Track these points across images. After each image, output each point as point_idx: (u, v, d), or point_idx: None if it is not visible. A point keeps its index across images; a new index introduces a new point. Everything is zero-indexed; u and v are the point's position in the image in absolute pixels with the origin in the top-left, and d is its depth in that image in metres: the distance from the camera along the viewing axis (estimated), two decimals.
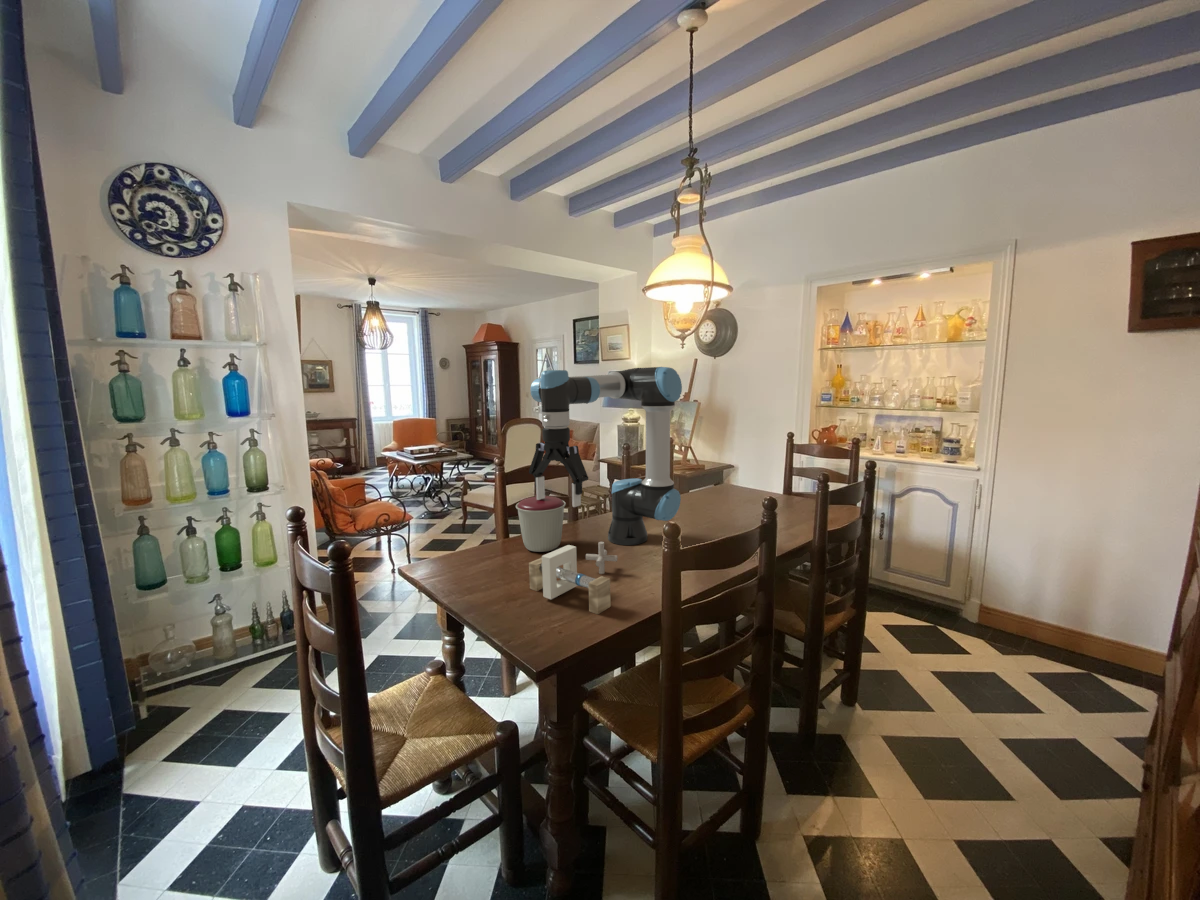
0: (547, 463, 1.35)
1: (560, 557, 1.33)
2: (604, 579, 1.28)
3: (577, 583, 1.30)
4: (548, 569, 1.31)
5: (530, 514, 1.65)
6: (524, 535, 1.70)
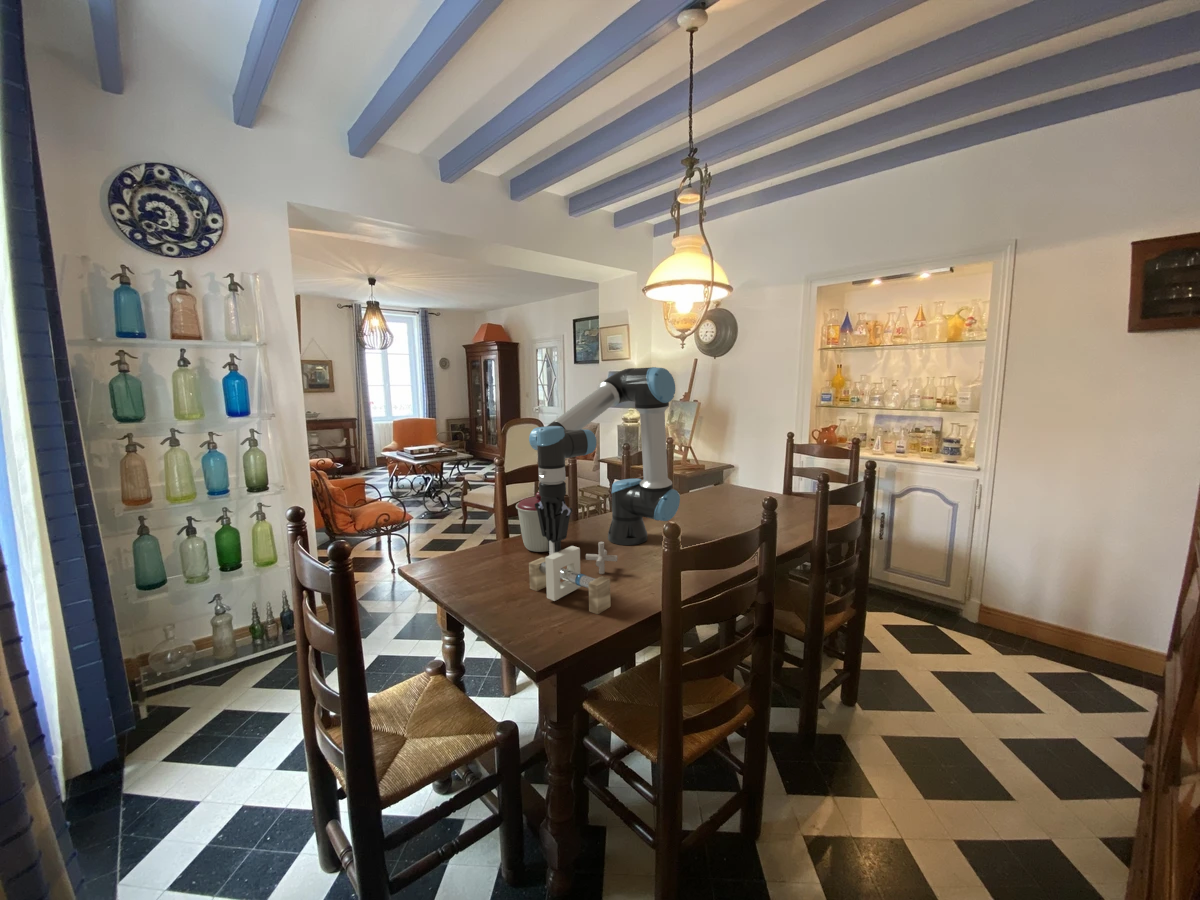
0: None
1: (563, 558, 1.33)
2: (604, 579, 1.28)
3: (577, 583, 1.30)
4: (552, 570, 1.30)
5: (530, 514, 1.65)
6: (524, 535, 1.70)
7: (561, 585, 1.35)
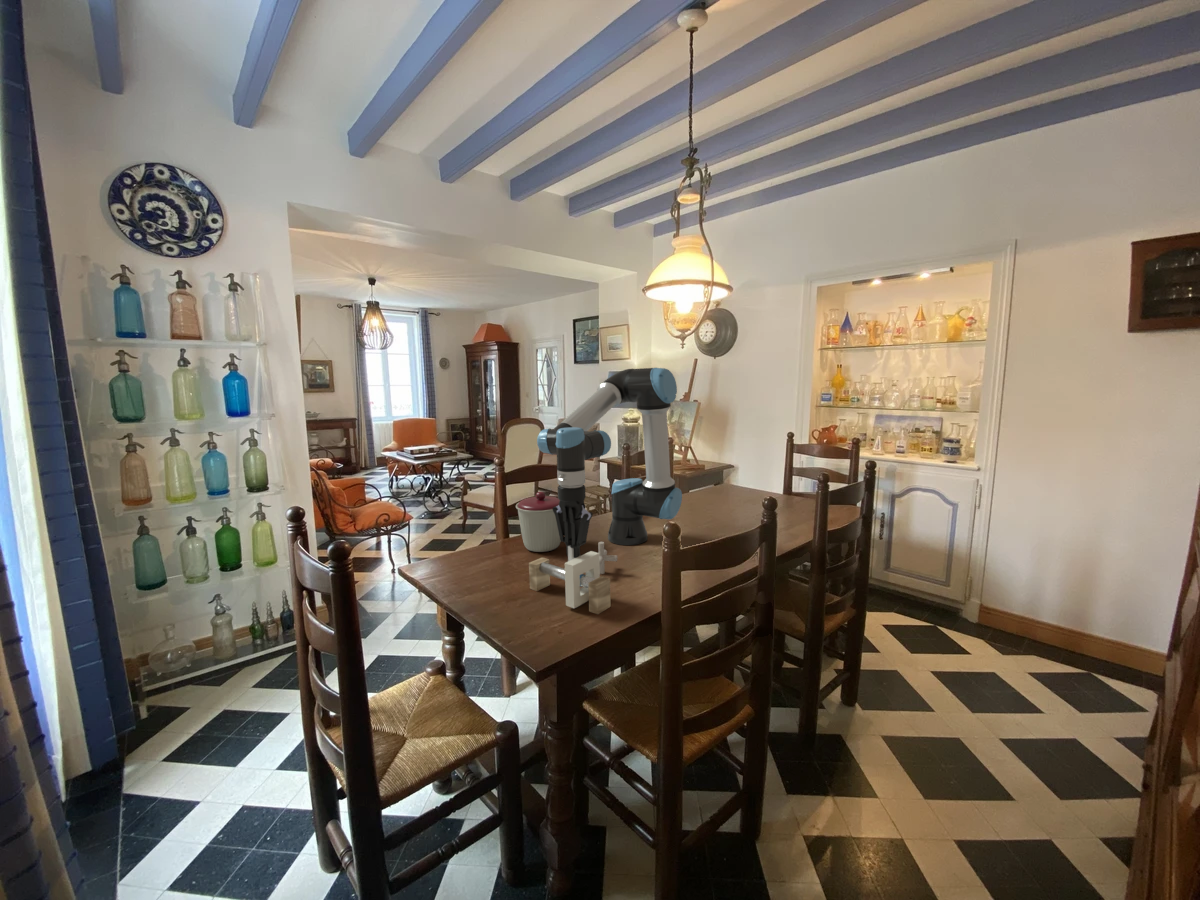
0: None
1: (583, 564, 1.28)
2: (604, 579, 1.28)
3: None
4: (571, 577, 1.25)
5: (530, 514, 1.65)
6: (524, 535, 1.70)
7: (580, 592, 1.30)
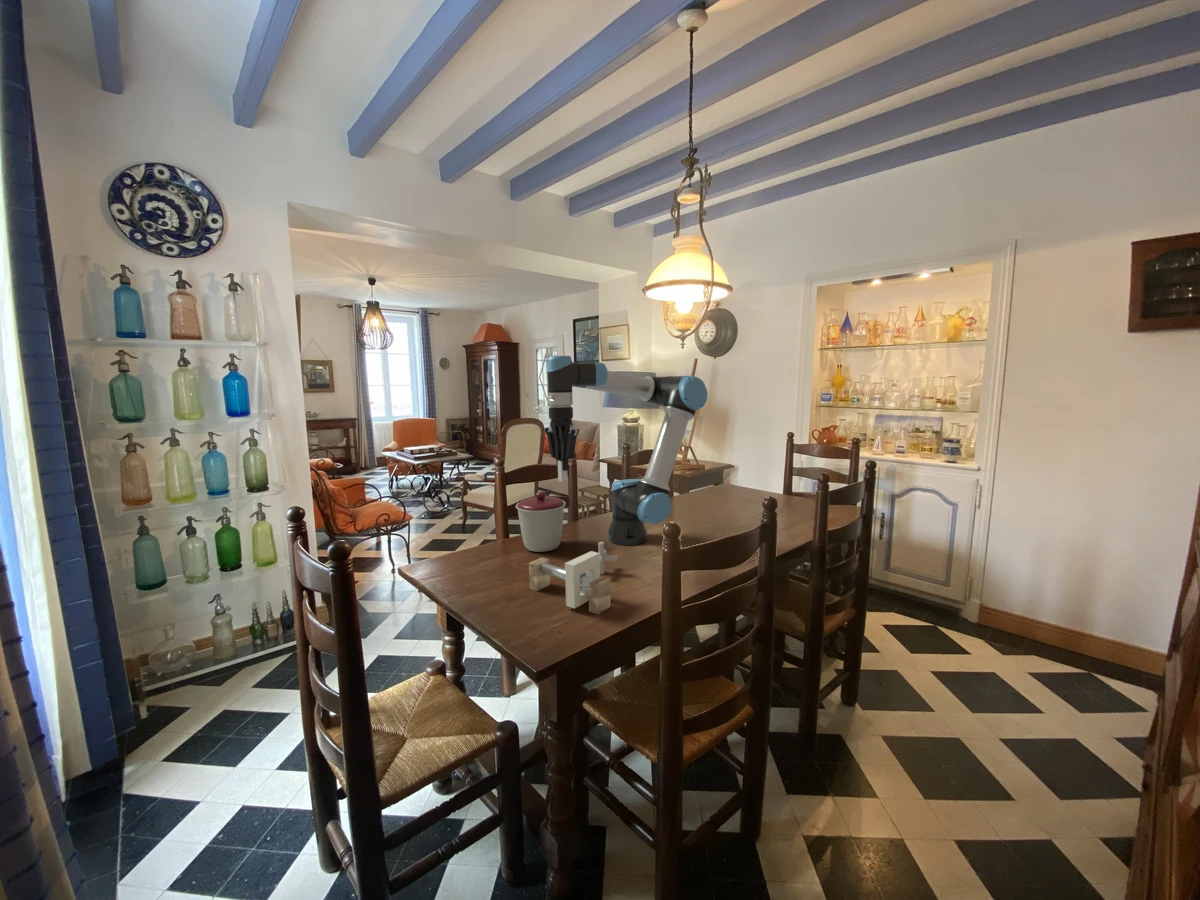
0: (561, 442, 1.51)
1: (583, 564, 1.28)
2: (604, 579, 1.28)
3: None
4: (572, 577, 1.25)
5: (530, 514, 1.65)
6: (524, 535, 1.70)
7: (581, 592, 1.30)
